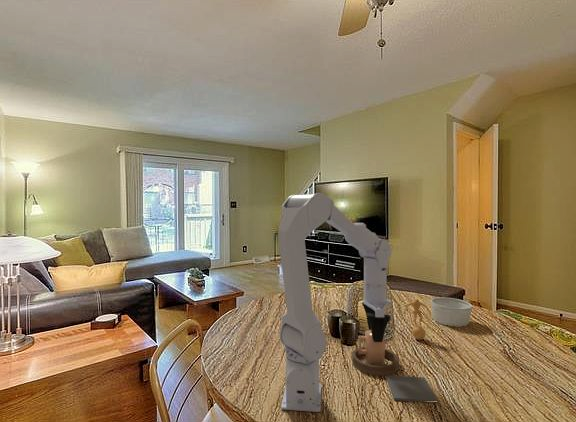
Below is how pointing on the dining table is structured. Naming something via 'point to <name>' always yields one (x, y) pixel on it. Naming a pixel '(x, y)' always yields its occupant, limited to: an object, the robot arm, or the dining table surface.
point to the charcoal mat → (410, 388)
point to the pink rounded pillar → (372, 349)
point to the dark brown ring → (374, 368)
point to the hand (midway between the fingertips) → (375, 335)
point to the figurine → (418, 330)
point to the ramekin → (451, 311)
